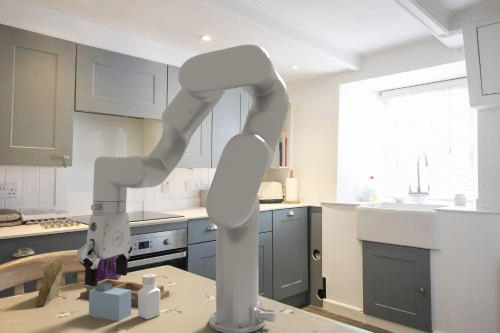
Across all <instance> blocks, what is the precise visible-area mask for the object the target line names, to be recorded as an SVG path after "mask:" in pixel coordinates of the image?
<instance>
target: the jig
mask: <svg viewBox="0 0 500 333" xmlns="http://www.w3.org/2000/svg"><path fill="white" fill-rule="evenodd" d="M102 282H105V283H112V287H114V288H121V289H128V290H131V307H132V306H134V307H138V291H139V290H140V289H142V288H143V284H142V282H135V281H134V282H133V281H126V280H119V279H117V280H113V279H104V280H102V281H100V280H98V284H99V283H102ZM156 287H157V288H158V289H160V301H162V300H164V299H165V298H168V297H169V296H170V290H165V289H164V285H158V284H156ZM92 289H95V287H93V286H88V285H86V290H83V291H81V292H80V294H79V297H80V298H84V299H88V300H89V290H92Z"/></svg>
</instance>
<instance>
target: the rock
mask: <svg viewBox="0 0 500 333" xmlns="http://www.w3.org/2000/svg"><path fill="white" fill-rule="evenodd" d="M64 265H65V263H64V262H62V261H61V260H57V261H54V262H52V263H51V264H50V265H48V266H47V267H46V268H45V269H44V270H43V278H42V281H41V282H42V283H41V286H40V288H39V290H38V295H37V298H36V300H35V303H34V306H35V307H45V306H46V305H47V304H49V302H51V301H52V300H54V299H55V298H56V297H57V296H58V295H59V294H60V289H61V283H62V282H61V281H62V277H63V273H64V267H65V266H64Z"/></svg>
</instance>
